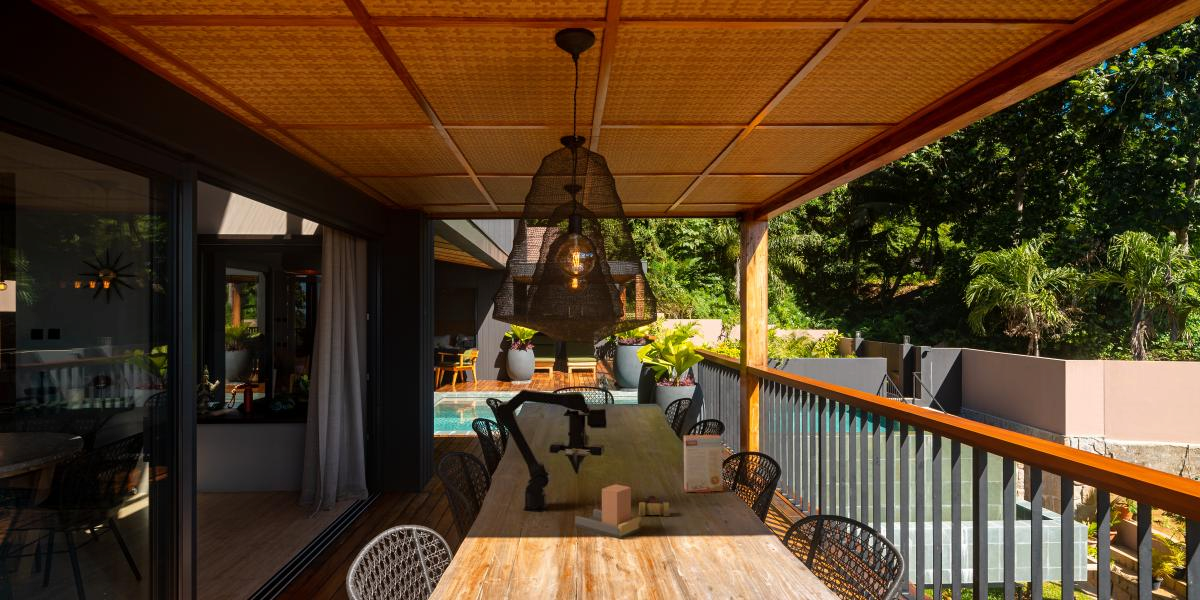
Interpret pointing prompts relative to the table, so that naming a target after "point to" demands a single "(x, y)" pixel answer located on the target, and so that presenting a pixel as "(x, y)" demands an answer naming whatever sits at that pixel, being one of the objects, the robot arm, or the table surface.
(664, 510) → the gavel
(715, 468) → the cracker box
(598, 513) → the gray tray
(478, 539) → the table surface
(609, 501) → the block
